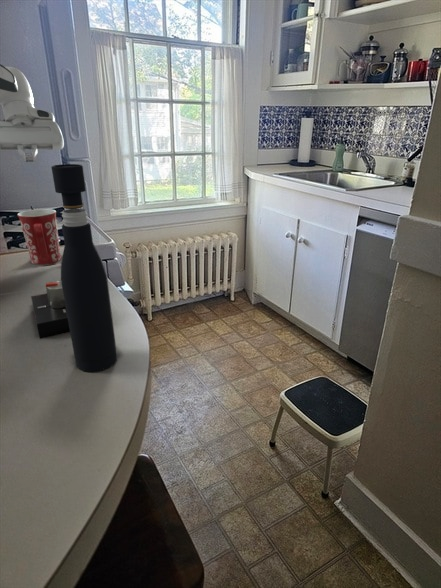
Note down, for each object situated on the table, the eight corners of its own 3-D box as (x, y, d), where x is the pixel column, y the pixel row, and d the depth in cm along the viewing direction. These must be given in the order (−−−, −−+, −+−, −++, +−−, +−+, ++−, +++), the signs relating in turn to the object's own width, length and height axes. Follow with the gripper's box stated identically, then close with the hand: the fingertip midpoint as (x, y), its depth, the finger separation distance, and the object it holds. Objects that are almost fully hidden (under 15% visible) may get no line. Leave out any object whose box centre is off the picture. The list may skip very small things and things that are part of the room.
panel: (97, 326, 73) (95, 311, 72) (39, 339, 69) (36, 323, 68) (84, 299, 84) (82, 286, 82) (33, 309, 79) (30, 295, 78)
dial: (74, 297, 77) (71, 277, 76) (72, 307, 74) (69, 286, 72) (51, 299, 76) (47, 279, 75) (48, 309, 73) (43, 288, 71)
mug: (29, 258, 108) (19, 209, 102) (64, 255, 110) (56, 207, 105) (25, 274, 97) (13, 221, 91) (64, 270, 100) (55, 218, 94)
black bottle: (101, 376, 59) (70, 169, 47) (66, 367, 61) (28, 167, 49) (125, 354, 65) (103, 164, 52) (92, 347, 67) (64, 162, 54)
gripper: (-22, 111, 106) (-15, 154, 103) (58, 112, 115) (67, 152, 112) (-18, 127, 112) (-11, 168, 109) (58, 128, 120) (67, 166, 117)
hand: (29, 160), depth 110 cm, fingers closed
